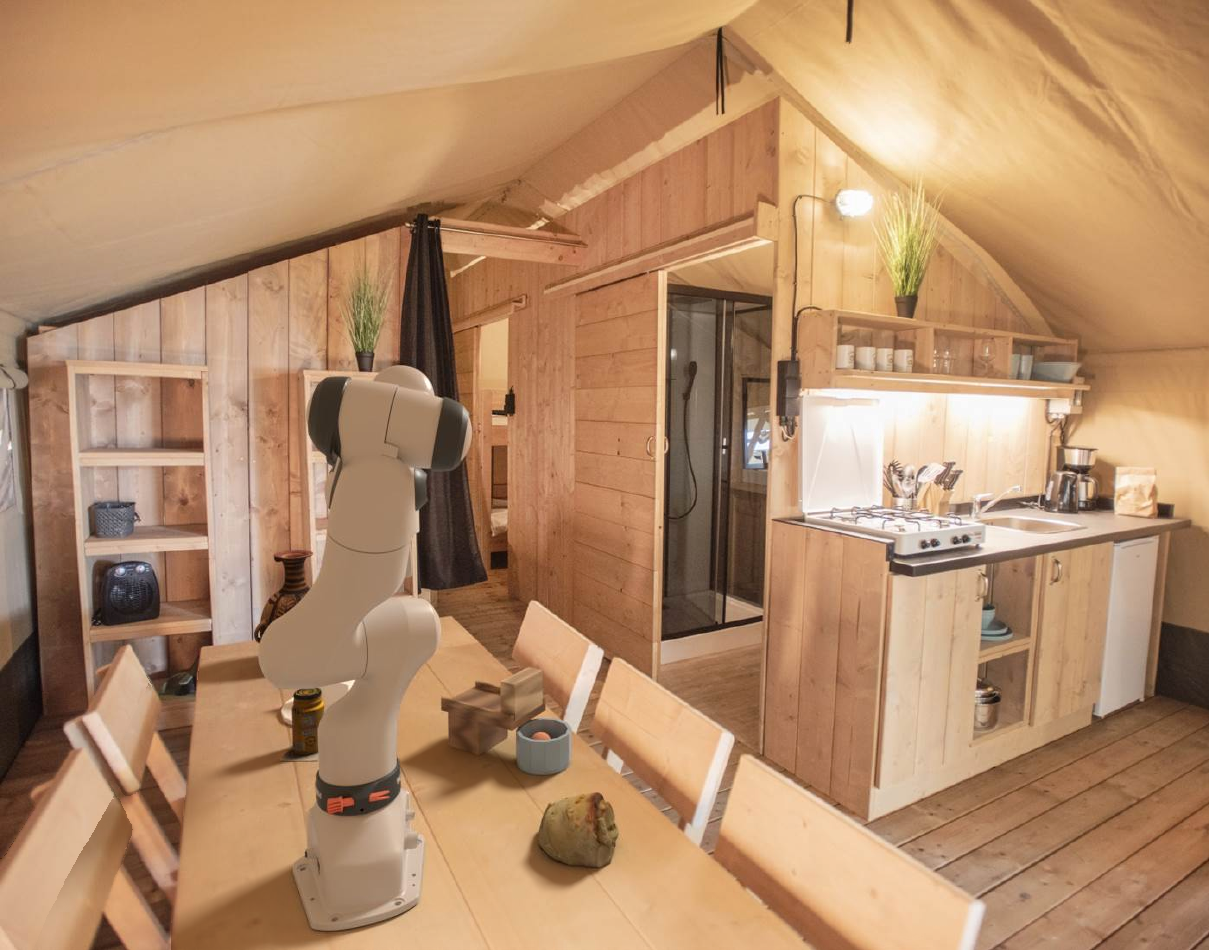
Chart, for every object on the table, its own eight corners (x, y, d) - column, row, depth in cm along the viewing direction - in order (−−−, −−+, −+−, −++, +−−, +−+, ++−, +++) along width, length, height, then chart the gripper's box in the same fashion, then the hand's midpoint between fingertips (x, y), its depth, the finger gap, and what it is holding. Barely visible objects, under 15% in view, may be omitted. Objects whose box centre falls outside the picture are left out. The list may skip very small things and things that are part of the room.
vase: (330, 645, 204) (327, 543, 201) (346, 664, 189) (343, 554, 187) (248, 660, 192) (244, 551, 189) (259, 680, 177) (254, 563, 174)
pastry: (632, 862, 105) (632, 811, 105) (551, 880, 101) (551, 827, 101) (601, 812, 119) (601, 767, 118) (528, 827, 114) (528, 779, 114)
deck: (441, 746, 142) (441, 697, 141) (477, 726, 151) (476, 680, 150) (512, 769, 133) (511, 717, 132) (545, 746, 142) (545, 697, 141)
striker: (500, 716, 135) (500, 681, 134) (528, 700, 143) (528, 667, 142) (515, 720, 133) (514, 684, 133) (542, 704, 141) (542, 670, 140)
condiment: (332, 741, 144) (331, 684, 143) (317, 761, 136) (315, 701, 135) (296, 741, 144) (294, 684, 143) (279, 761, 136) (276, 701, 135)
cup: (578, 769, 133) (578, 736, 132) (525, 779, 129) (525, 745, 128) (560, 745, 142) (560, 714, 142) (511, 754, 138) (510, 723, 138)
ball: (553, 756, 134) (553, 731, 136) (530, 756, 133) (531, 731, 135) (549, 756, 138) (550, 732, 140) (527, 756, 137) (528, 732, 139)
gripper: (419, 530, 135) (421, 601, 136) (407, 517, 154) (409, 579, 155) (384, 532, 132) (387, 604, 133) (377, 519, 151) (379, 582, 152)
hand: (398, 591), depth 144 cm, fingers closed
